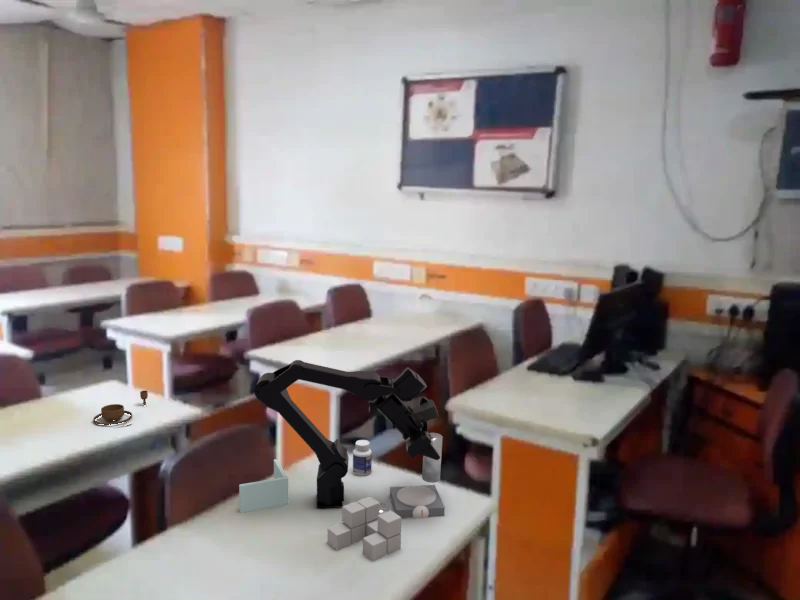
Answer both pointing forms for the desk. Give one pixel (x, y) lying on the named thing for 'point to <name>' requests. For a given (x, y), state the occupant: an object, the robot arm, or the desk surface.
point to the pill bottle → (362, 458)
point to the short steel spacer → (383, 509)
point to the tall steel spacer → (433, 461)
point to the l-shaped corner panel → (265, 492)
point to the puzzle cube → (367, 529)
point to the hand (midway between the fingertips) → (437, 454)
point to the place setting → (117, 411)
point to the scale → (416, 501)
